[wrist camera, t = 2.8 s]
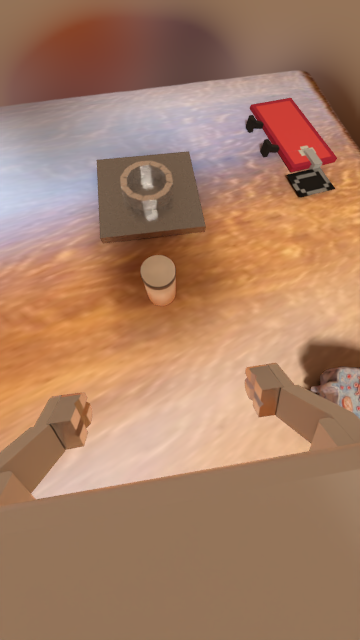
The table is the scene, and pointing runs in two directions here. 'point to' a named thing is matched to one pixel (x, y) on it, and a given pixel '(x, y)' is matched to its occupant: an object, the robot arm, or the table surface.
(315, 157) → the red board with handle
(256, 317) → the table surface
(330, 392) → the cell model
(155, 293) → the banded peg cylinder
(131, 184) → the ring mount
